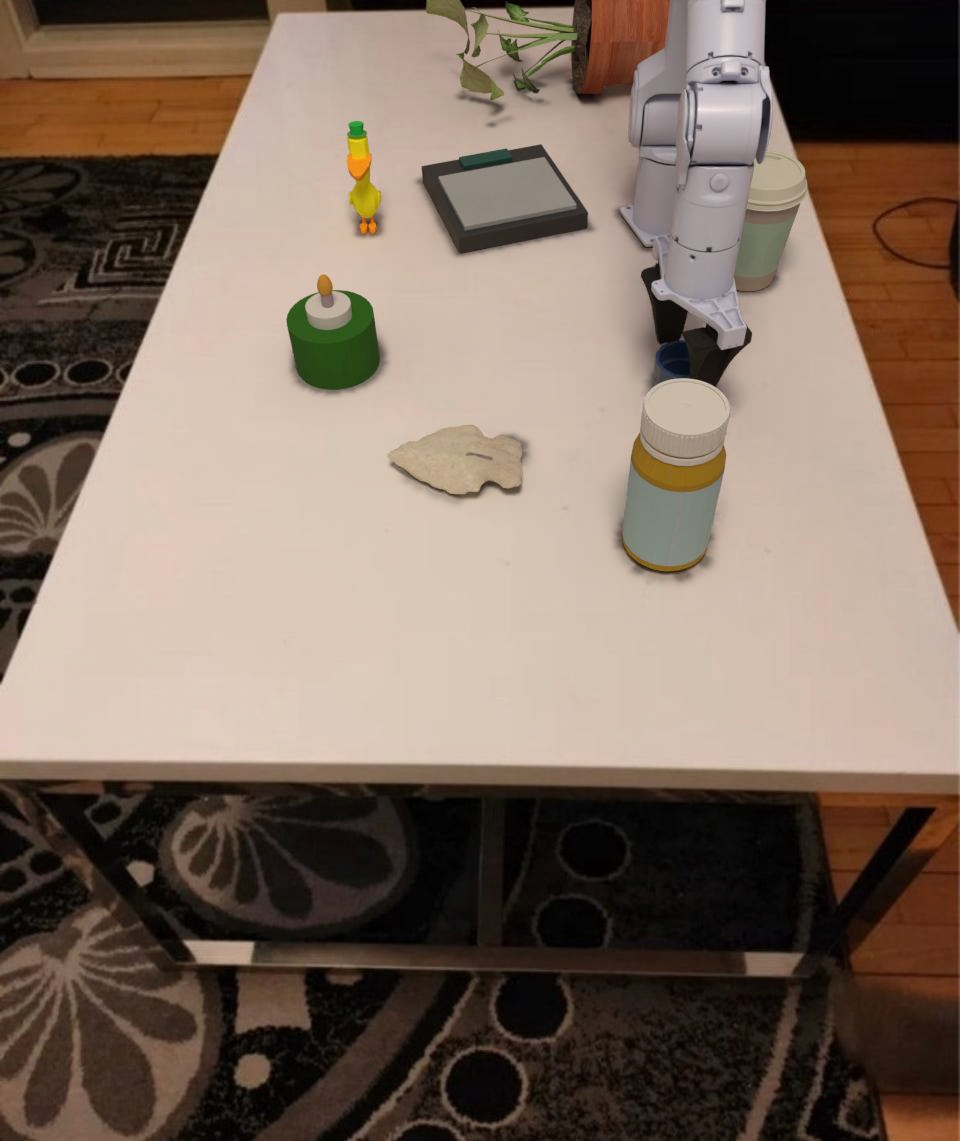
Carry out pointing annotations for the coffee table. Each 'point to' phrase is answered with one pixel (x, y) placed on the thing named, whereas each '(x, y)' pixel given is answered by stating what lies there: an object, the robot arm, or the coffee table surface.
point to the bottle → (675, 474)
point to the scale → (503, 198)
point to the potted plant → (598, 48)
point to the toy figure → (362, 176)
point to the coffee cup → (768, 218)
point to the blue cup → (671, 362)
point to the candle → (333, 337)
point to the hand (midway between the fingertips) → (684, 365)
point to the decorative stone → (461, 459)
